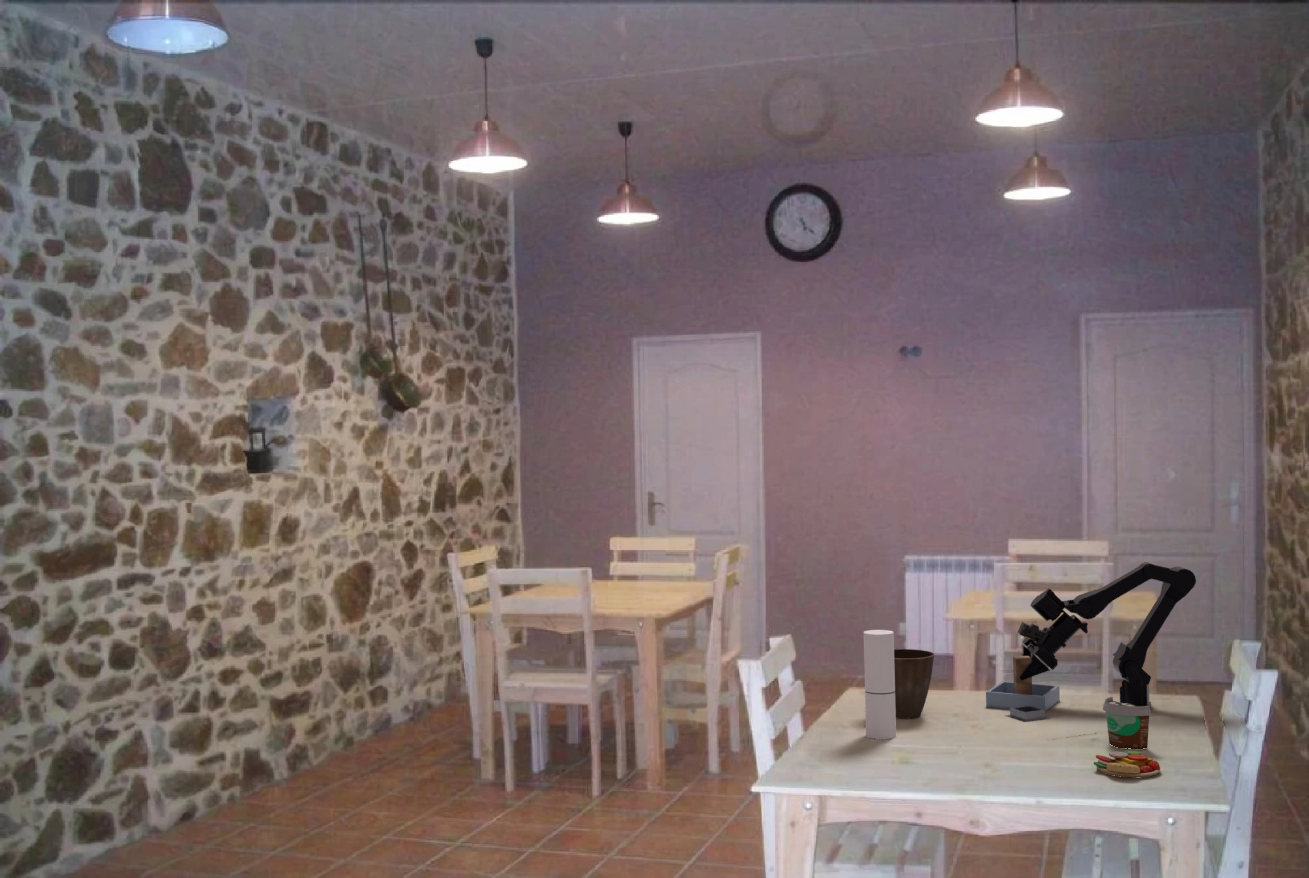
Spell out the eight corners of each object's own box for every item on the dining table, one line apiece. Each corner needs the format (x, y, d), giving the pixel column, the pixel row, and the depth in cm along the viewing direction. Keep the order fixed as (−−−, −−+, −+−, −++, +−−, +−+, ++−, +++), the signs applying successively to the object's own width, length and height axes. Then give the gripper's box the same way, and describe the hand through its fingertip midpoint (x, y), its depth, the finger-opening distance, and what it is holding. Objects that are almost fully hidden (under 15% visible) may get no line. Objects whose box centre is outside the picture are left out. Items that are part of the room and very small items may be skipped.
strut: (1029, 701, 342) (1028, 655, 342) (1032, 704, 337) (1031, 658, 337) (1013, 701, 342) (1012, 655, 342) (1016, 704, 338) (1015, 658, 338)
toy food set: (1119, 783, 267) (1118, 767, 267) (1080, 767, 279) (1080, 752, 279) (1173, 776, 270) (1173, 761, 270) (1133, 761, 283) (1133, 746, 283)
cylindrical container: (894, 732, 315) (892, 629, 314) (897, 739, 307) (894, 634, 307) (865, 732, 315) (862, 629, 315) (867, 739, 308) (864, 634, 308)
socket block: (1030, 714, 329) (1030, 704, 329) (1051, 720, 322) (1050, 710, 322) (1004, 717, 327) (1004, 707, 327) (1024, 724, 319) (1024, 713, 319)
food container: (1091, 742, 300) (1090, 699, 300) (1111, 739, 302) (1110, 696, 302) (1131, 753, 289) (1130, 709, 289) (1152, 750, 291) (1151, 706, 291)
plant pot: (866, 711, 337) (865, 650, 337) (918, 707, 341) (917, 646, 341) (891, 724, 323) (890, 660, 323) (945, 719, 327) (944, 656, 327)
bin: (1059, 702, 342) (1059, 685, 342) (1045, 714, 329) (1045, 696, 329) (1002, 697, 350) (1002, 681, 350) (986, 709, 337) (985, 691, 337)
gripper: (1029, 606, 348) (988, 648, 350) (1043, 617, 330) (1000, 660, 331) (1060, 635, 348) (1019, 677, 349) (1076, 647, 329) (1032, 691, 330)
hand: (1017, 675), depth 340 cm, fingers open, 9 cm apart
